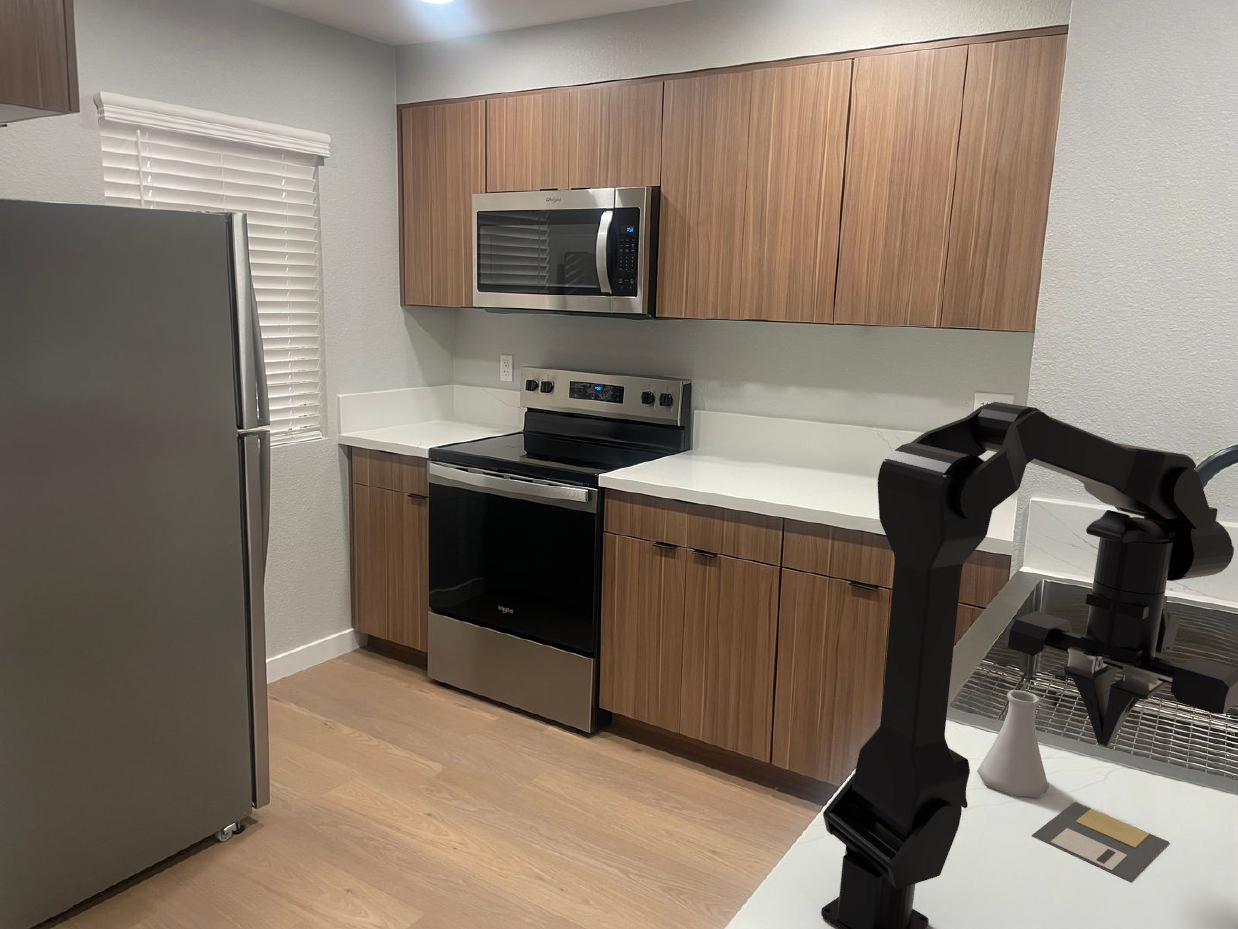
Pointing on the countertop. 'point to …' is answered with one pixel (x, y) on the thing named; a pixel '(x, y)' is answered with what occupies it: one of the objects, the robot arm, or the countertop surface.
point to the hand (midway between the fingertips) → (1104, 744)
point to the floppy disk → (1101, 840)
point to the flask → (1016, 751)
